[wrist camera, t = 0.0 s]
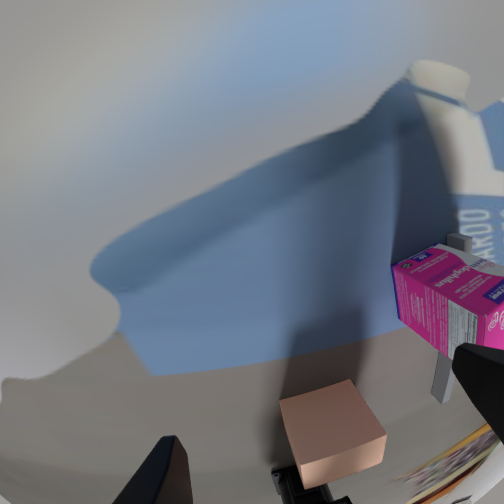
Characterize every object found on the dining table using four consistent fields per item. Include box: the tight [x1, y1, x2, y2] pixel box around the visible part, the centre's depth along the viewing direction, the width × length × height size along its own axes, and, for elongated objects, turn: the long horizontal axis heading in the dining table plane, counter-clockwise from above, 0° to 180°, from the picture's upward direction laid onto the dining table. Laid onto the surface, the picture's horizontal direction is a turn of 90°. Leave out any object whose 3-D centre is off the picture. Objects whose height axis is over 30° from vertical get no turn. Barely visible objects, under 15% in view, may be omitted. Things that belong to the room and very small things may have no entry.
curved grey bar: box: [431, 232, 472, 404], centre depth 24 cm, size 20×1×2 cm, turn 11°
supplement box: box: [391, 243, 504, 361], centre depth 18 cm, size 6×6×12 cm
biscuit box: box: [279, 379, 387, 489], centre depth 22 cm, size 5×7×8 cm
